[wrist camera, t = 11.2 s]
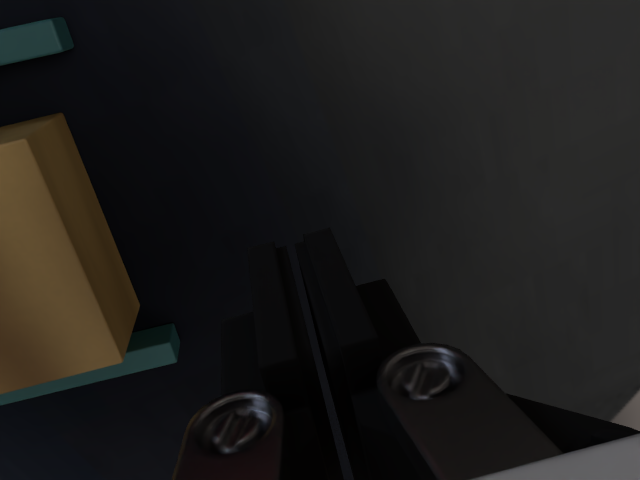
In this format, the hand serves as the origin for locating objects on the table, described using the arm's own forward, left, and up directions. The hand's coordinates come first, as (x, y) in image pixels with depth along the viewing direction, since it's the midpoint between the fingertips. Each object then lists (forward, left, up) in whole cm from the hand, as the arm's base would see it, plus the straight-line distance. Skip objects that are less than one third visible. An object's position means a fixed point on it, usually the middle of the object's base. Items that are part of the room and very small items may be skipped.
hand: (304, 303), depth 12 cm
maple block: (-11, -1, -11) cm, 15 cm away
